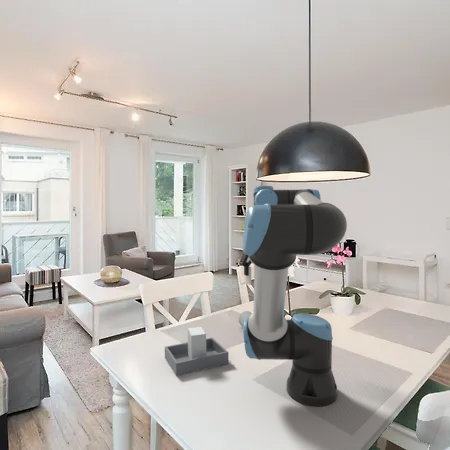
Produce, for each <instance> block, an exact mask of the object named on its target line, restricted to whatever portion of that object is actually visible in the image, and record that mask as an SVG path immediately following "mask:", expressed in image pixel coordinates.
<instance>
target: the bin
mask: <svg viewBox="0 0 450 450" xmlns="http://www.w3.org/2000/svg"><path fill="white" fill-rule="evenodd" d="M164 359H165V360H166V362H167V363H168V365H169V367H170V368H171V370H172V372H173V374H175V376H181V375H186V374H190V373H194V372H199V371H203V370H207V369H211V368H216V367H220V366H224V365H228V364H229V362H230V361H229V351H228V350H227V349H225V347H223V346H222V345H221V343H219V342H218V341H217V340H216V339H215V338H213V337H208V338H207V337H206V356H203V357H199V358H194V359H190V358H189V355H188V341H187V342H181V343H177V344H172V345H167V346H164Z"/></svg>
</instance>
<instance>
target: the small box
mask: <svg viewBox="0 0 450 450" xmlns="http://www.w3.org/2000/svg"><path fill="white" fill-rule="evenodd" d="M206 339H207V333H206V332H205V329H204V328H203V327H202V326H197V327H188V328H187V342H188V355H189V358H190V359H194V358H199V357H203V356H206Z"/></svg>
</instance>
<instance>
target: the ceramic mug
mask: <svg viewBox="0 0 450 450" xmlns="http://www.w3.org/2000/svg"><path fill="white" fill-rule="evenodd" d="M252 313H253V312H252V311H249V310H246V311H245V310H244V311H243V312H241V313H240V315H239V316H238V323H239V325H240V326H241V327H242V328H243V324H244V321H245V320H246V319H249V317H250V316H251V314H252Z"/></svg>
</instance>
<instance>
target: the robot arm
mask: <svg viewBox="0 0 450 450" xmlns="http://www.w3.org/2000/svg"><path fill="white" fill-rule="evenodd" d="M320 193H321V192H320V191H319V190H318V189H311V188H307V189H303V188H302V189H274V187H273V186H272V185H256V186H254V188H253V194H252V196H253V205H252V206H250V207H248V209H247V211H246V215H245V220H244V226H243V237H242V255H241V257H240V260H239V265H240V266H242V267H243V275H244V276H245V284H246V285H249V286H251V285H252V267H251V264H253V265H254V268H253V270H254V271H253V311H252V312H251V313H252V314H251V316H250V317H249V319H246V320H245V321H244V324H243V327H242V328H243V330H242V331H243V344H244V349H245V354H246V356H247V357H248V358H249V359H253V360H258V361H259V360H260V361H261V360H279V361H281V360H283V361H284V360H285V361H286V360H288V361H289V360H290V361H292V366H291V369H290V373H289V375H288V377H287V380H286V392H287V394H288V395H289V396H290V397H291V398H292V399H293V400H294V401H295V402H298V403H301V404H303V405H308V406H313V407H322V406H328V405H331V404H333V403H335V402H336V400H337V398H338V386H337V383H336V379H335V375H334V374H333V373H334V372H333V370H332V365H333V363H332V362H333V361H332V360H333V359H332V358H333V356H332V354H333V353H332V352H333V338H334V337H333V331H332V325H331V323H330V322H329V321H328V320H327V319H325V318H324V317H321V316H319V315H315V314H310V313H304V312H299V313H295V314H294V315H293V316H292V317H291V319H287V318H286V317H285V315H284V312H285V306H286V305H285V304H286V294H287V286H288V285H287V284H288V276H289V268H291V267H292V266H293V264H295V262H296V259H297V256H312V255H313V256H315V255H320V254H324V253H326V252H328V251H329V252H330V250H332V249H333V248H335V247H336V246H338V245H339V243H341V242H342V240H343V238H344V236H345V235H346V231H347V227H348V222H347V219H346V216H345V214H344V212H343V211H342V210H341V209H340V208H338V207H337V206H336V205H334V204H332V203H329V202H324V201H322V200H321V194H320Z"/></svg>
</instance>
